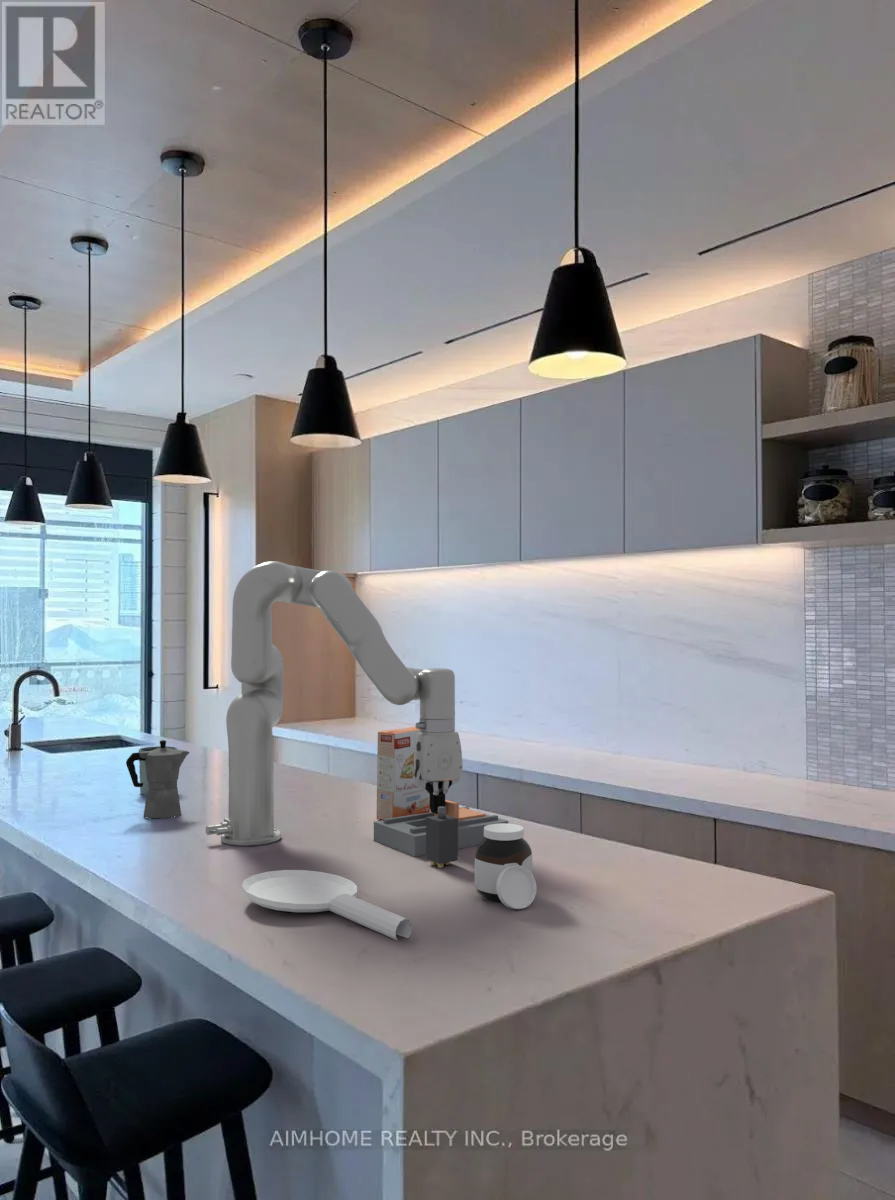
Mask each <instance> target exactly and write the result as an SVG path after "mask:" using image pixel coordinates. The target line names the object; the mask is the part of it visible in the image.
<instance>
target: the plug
mask: <svg viewBox="0 0 895 1200" xmlns="http://www.w3.org/2000/svg"><path fill="white" fill-rule="evenodd" d="M425 859H426V860H428V861H430V865H432V866H436V865H437V868H440V869H441V868H444V865H447V866H448V865H450V864H451V863H453V862H456V861H459V849H458V818H455V817H452V816H448V815H446V807H438V815H437V816H431V817H426V855H425Z"/></svg>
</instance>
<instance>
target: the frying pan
mask: <svg viewBox="0 0 895 1200" xmlns="http://www.w3.org/2000/svg"><path fill="white" fill-rule="evenodd" d="M241 892H242V894H243V895H244V896H245V898H247V899H248V900H250V902H252V903H254V904H256V905H259V906H261V907H263V908H266V909H271V910H275V911H281V912H290V913H319V912H327V911H330V912H332V913H335V914H337V915H339V916H341V917H344V918H346V919H348V920H350V921H352V922H354V923H357V924H359V925H362V926H363V927H366V928H368V929H370V930H372V931H375V932H377V933H380V934H381V935H384V936H386V937H389V938H391V939H393V940H394V941H397V942H399V940H398V938H397V935H398V936H400V937H403V938H406V939H408V938H409V937H410V936H411V934H412V931H413V926H412V925H413V924H412V921H411V920H410V919H409V918H407V917H404V916H401V915H400V914H397V913H394V912H392V911H389V910H387V909H385V908H382V907H379V906H377V905H375V904H373V903H370V902H368V901H366V900H363V899H360V898H359V897H358V885H357V884H356V883H354V881H352V880H351V879H348V878H346V877H344V876H341V875H338V874H334V873H328V872H323V871H316V870H308V869H307V870H306V869H305V870H304V869H283V870H282V869H281V870H269V871H265V872H260V873H257V874H252V875H251V876H249V877H247V878H245V879H243V882H242V884H241Z"/></svg>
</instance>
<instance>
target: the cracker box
mask: <svg viewBox="0 0 895 1200" xmlns="http://www.w3.org/2000/svg"><path fill="white" fill-rule="evenodd" d="M418 733H420V729H417V728H416V726H409V727H402V728H397V729H396V728H395V729H389V730H380V731H377V756H376V757H377V759H376V761H377V762H376V763H377V765H376V766H377V767H376V768H377V769H376V774H377V775H376V820H379V821H381V820H383V819H388V818H395V817H402V816H408V815H415V814H422V813H428V812H431V811H430V794H429V793H427V790H426V789H425V788H422V787H417V786H415V781H416V778H415V776H414V753H415V745H416V739H417V735H418ZM424 782H426V781H425V780H424Z"/></svg>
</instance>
